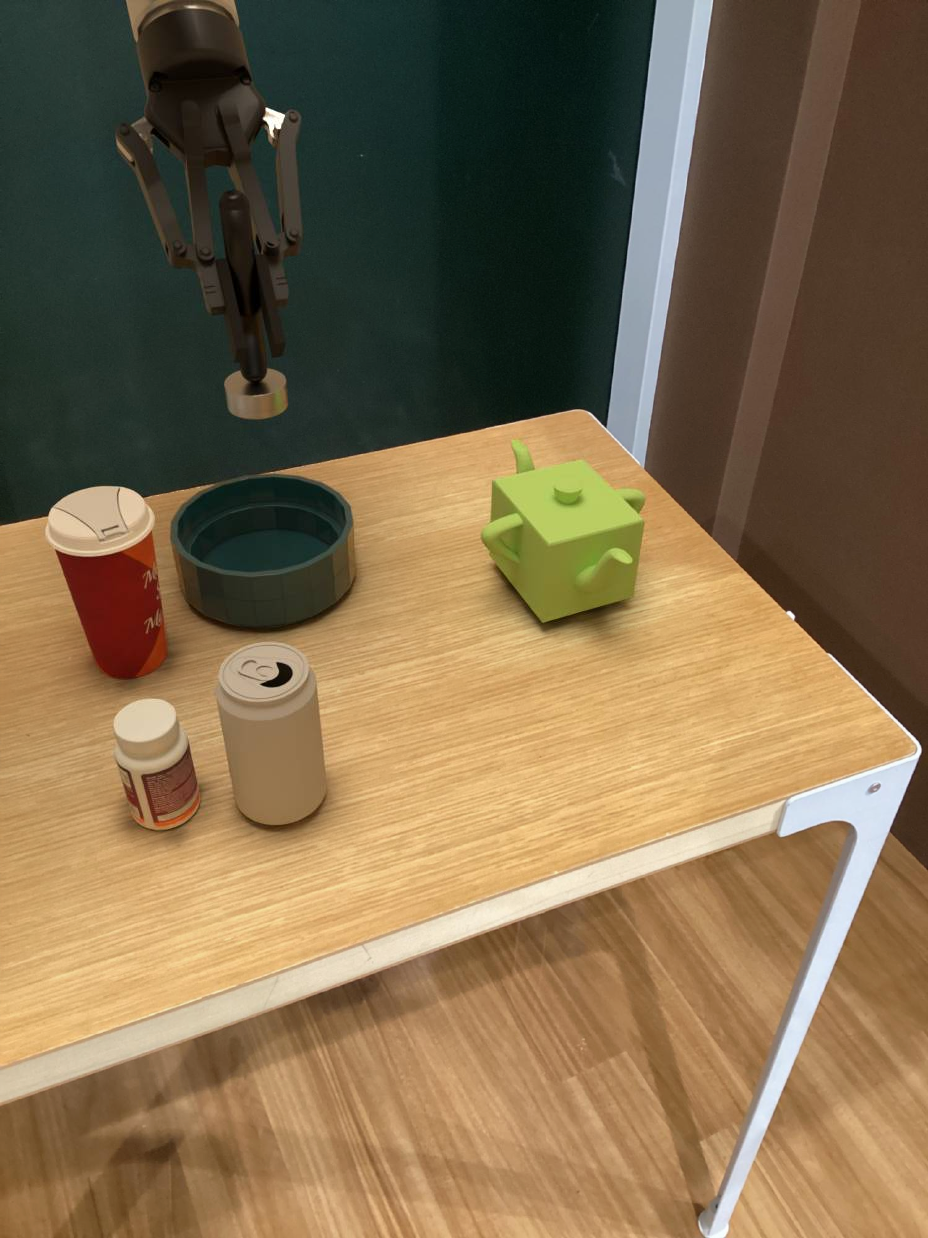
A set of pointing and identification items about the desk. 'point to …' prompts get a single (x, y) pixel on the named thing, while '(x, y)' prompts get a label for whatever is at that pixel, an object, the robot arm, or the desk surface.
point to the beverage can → (272, 732)
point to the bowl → (264, 549)
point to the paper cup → (112, 576)
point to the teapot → (564, 536)
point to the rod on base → (248, 319)
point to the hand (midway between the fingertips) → (259, 352)
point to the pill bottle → (155, 764)
